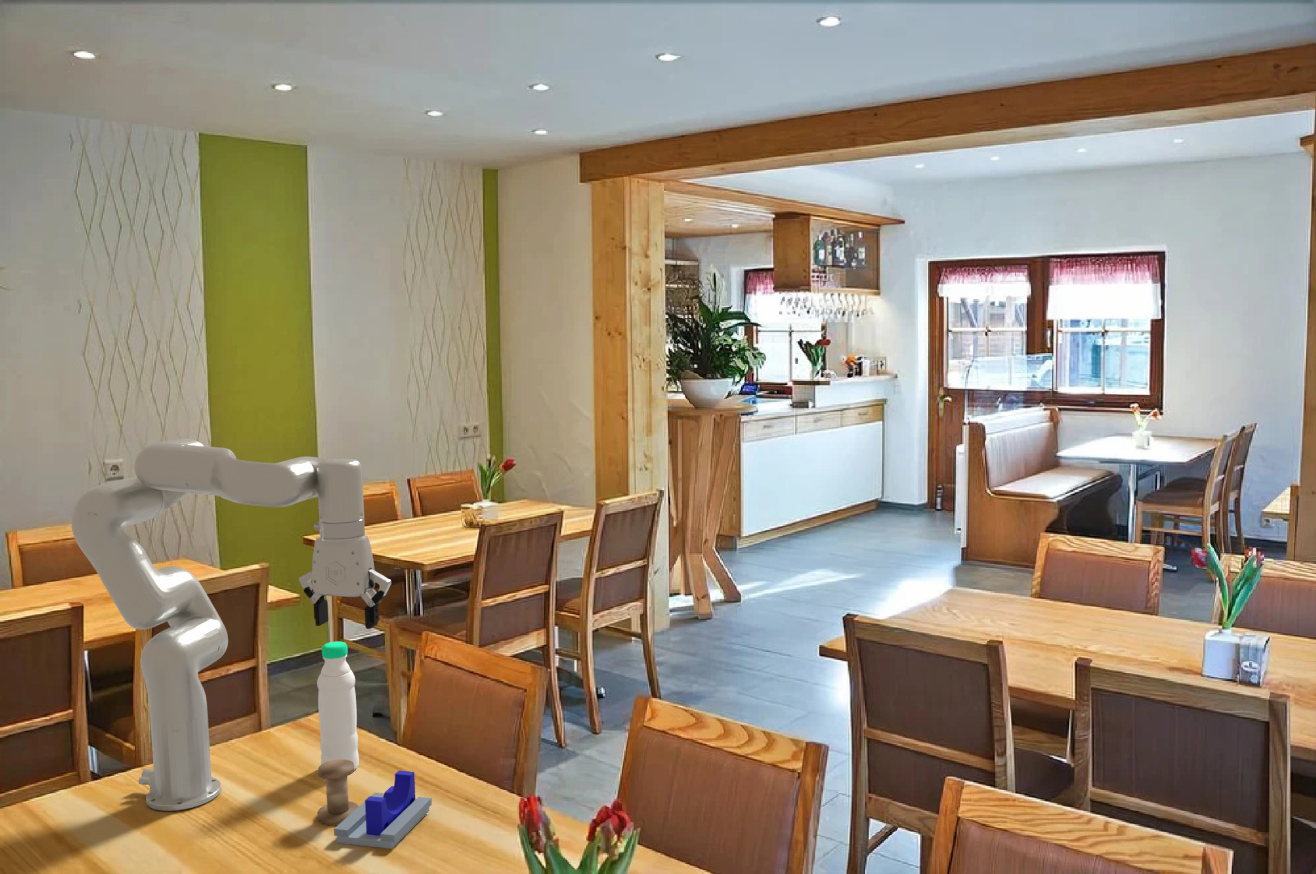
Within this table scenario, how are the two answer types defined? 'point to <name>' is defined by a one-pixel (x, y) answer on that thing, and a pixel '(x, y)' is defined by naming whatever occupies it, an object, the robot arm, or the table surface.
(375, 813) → the cable clip
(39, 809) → the table surface
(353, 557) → the robot arm
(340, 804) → the door knob
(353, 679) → the water bottle
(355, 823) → the notched board
